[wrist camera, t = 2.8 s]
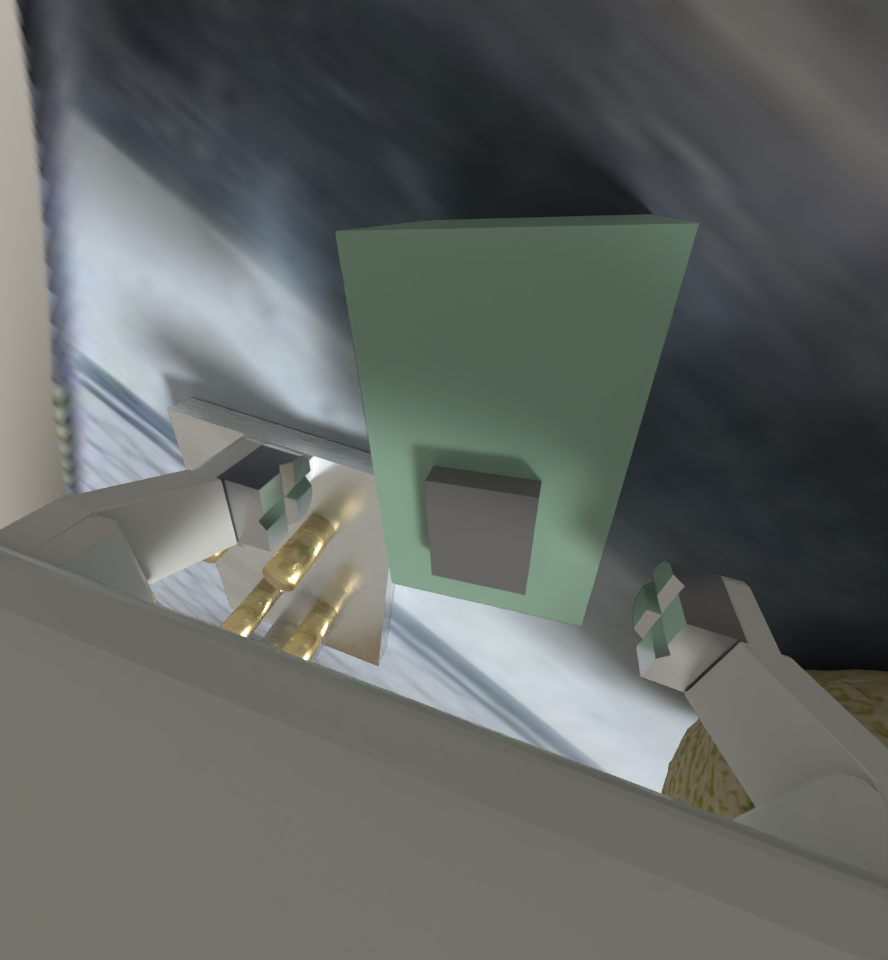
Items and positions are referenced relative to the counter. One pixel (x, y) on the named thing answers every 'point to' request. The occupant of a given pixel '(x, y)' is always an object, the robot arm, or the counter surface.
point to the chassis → (303, 544)
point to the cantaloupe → (711, 782)
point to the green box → (507, 392)
